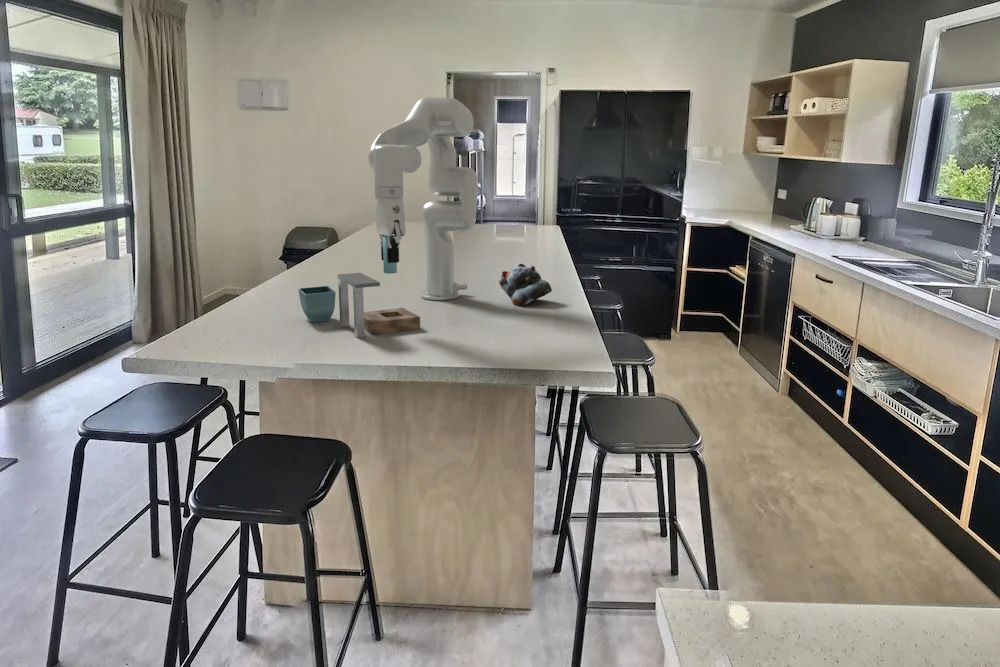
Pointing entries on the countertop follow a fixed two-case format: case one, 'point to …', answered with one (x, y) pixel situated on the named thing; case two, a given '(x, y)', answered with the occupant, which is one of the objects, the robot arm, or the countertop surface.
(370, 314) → the socket
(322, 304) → the flower pot
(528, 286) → the lucky cat figurine
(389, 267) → the peg
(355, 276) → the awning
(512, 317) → the countertop surface
